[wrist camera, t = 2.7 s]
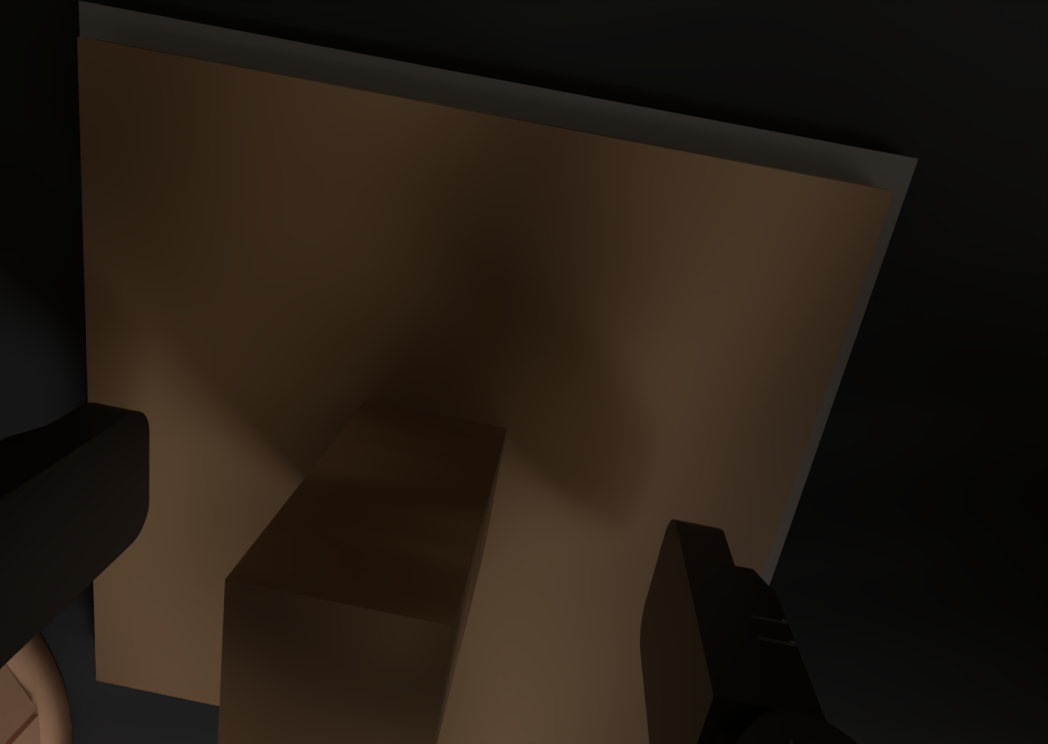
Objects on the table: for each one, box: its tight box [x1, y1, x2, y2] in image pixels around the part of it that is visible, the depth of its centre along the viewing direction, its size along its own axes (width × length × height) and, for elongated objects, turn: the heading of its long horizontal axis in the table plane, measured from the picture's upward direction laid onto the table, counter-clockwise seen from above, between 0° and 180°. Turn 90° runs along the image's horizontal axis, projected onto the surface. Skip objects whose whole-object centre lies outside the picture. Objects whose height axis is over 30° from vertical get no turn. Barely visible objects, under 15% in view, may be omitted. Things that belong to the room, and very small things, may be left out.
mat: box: [79, 1, 918, 586], centre depth 14 cm, size 13×13×1 cm
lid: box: [77, 37, 894, 744], centre depth 11 cm, size 12×12×6 cm
